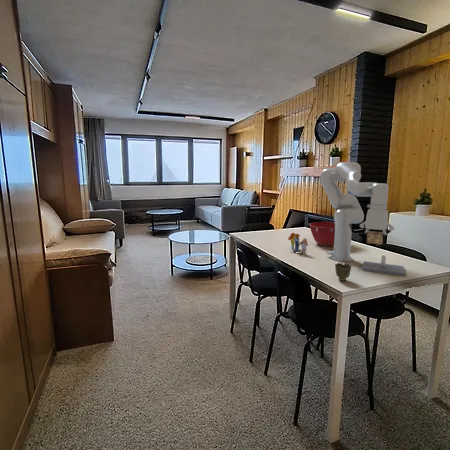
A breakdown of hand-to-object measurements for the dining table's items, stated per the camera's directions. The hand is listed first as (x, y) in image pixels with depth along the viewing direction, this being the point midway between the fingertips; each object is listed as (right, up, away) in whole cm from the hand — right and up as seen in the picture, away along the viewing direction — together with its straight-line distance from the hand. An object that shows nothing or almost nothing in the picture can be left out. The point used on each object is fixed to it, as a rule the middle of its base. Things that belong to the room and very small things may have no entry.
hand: (375, 240), depth 152 cm
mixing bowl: (-1, -7, +68) cm, 68 cm away
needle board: (+8, -16, +8) cm, 20 cm away
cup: (-21, -19, -9) cm, 30 cm away
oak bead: (0, -1, 0) cm, 1 cm away
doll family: (-30, -10, +47) cm, 57 cm away
